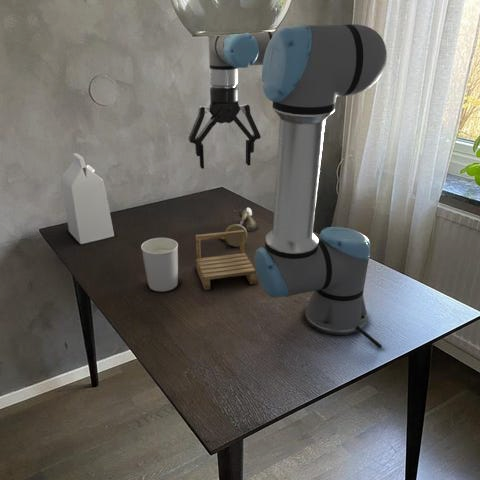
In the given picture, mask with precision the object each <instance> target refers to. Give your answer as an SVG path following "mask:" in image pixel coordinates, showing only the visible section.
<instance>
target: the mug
mask: <svg viewBox="0 0 480 480" xmlns="http://www.w3.org/2000/svg"><path fill="white" fill-rule="evenodd" d="M239 230H244V232H245V235H244V244H245V243H246V241H247V239H248V230H246V227H244V226H243V224H242V225H240V223H239V224H238V223H234V224H231V225H229V226H227V228H226V230H225V232H229V231H239ZM220 240H221V241H226V243H227V244H228V245H229V246H231V247H235V248H238V247H240V236H234V237H224V238H220Z"/></svg>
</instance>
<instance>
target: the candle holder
mask: <svg viewBox="0 0 480 480" xmlns="http://www.w3.org/2000/svg"><path fill="white" fill-rule="evenodd" d="M140 249H141V254H142V261H143V265H144V270H145V275H146V281H147V285H148V288H149V290H152V291H154V292H168V291H171V290H172V291H173V290H174V289H175V288H177V287H178V284H179V252H178V251H179V243H178V242H177V241H176V240H175V239H172V238H170V237H169V238H168V237H155V238H150V239H146V241H143V243H141V245H140Z"/></svg>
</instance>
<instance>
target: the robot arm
mask: <svg viewBox="0 0 480 480" xmlns="http://www.w3.org/2000/svg"><path fill="white" fill-rule="evenodd" d="M274 30H275V31H274V32H264V33H246V34H234V35H220V36H208V35H207V37H208V59H209V60H208V63H209V84H210V85H211V86H210V88H209V100H210V101H209V102H210V103H209V106H204V105H203V104H202V105H201V104H200V105H199V106H198V114H197V116H196V119H195V121H194V124H193V125H192V128H191V131H190V133H189V136H188V141H189V143H191V144H194V148H195V155H196V157H199V167H200V168H201V170H202V169H205V159H204V158H205V157H204V155H205V154H204V153H205V152H204V144H203V143H202V142H203V141H204V140H205V139H206V137H207V135H209V133H210V132H211V130H212V129H213V128H214V126H216V125H217V123H218V124H224V123H225V124H231V123H232V122H234V123H235V125H237V127H238V128H239V129H240V130H241V132H242V133H243V134H244V135H245V136H246V137H247V139H246V140H245V164H246V165H247V166H251V161H252V160H251V155H252V154H254V152H255V142H256V140H260V139H261V133H260V131H259V129H258V127H257V125H256V123H255V120H254V119H253V116H252V113H251V107H250V104H248V103H247V102H245V103H243V104H239V87H238V86H237V85H238V84H239V68H240V69H246V68H249V67H251V66H262V67H261V81H262V83H263V84H262V89H263V92H264V94H265V97H266V98H267V99H268V100H269V101H271V102H272V110H273V111H274V112H275V113H276V114H277V116H278V117H279V126H278V141H277V159H276V175H275V192H274V206H273V221H272V223H273V224H272V230H270V231H269V232H267V234H266V235H265V239H264V240H265V241H264V244H265V245H264V246H263V247H262V246H261V247H259V248H257V249H255V250H256V251H255V252H254V266H255V271H256V275H257V277H258V280H259V282H260V286H261V287H262V289H263V291H264V292H265V293H266V294H267V296H269V297H270V298H274V299H275V298H282V297H285V298H288V297H291V296H294V295H295V296H296V295H300V294H306V293H311V292H312V294H311V296H310V298H309V301H308V302H307V304H306V307H305V314H304V317H305V321H306V322H307V324H308V325H309V326H310V327H311V328H313V329H315V330H316V331H319V332H321V333H324V334H327V335H333V336H348V335H352V334H356V333H360V334H361V335H362V336H364V337H365V338H366V339H368V340H369V341H370V342H371V343H372V344H374V345H375V346H376V347H377V348H378V349H381V348H382V347H383V345H382V344H381V343H380V342H379V341H377V340H376V339H375V338H374V337H373V336H372V335H370V334H369V333H368V332H366V331H365V330H364V328H365V326H366V325H367V320H368V313H367V307H366V301H365V296H364V290H365V284H366V278H367V273H368V265H369V260H370V258H371V242H370V239H369V238H368V237H367V236H366V235H364V234H363V233H361V232H359V231H357V230H354V229H352V228H351V229H350V228H346V227H342V226H329V227H325V228H323V229H322V230H321V231H320V233H319V234H318V235H319V238H318V236H317V235H316V234H315V233H314V223H315V215H316V206H317V198H318V189H319V178H320V172H321V161H322V154H323V153H322V152H323V145H324V144H323V143H324V136H325V135H324V133H325V126H326V120H327V119H328V118H329V117H330V116H331V115H332V114H333V113H334V112H335V111H336V103H337V97H347V96H354V95H355V96H356V95H358V94H361V93H363V92H365V91H368V90H369V89H370V88H372V86H374V85H375V84H376V83H377V82H378V81H379V79H380V78H381V76H382V75H383V73H384V71H385V68H386V65H387V59H388V51H387V47H386V43H385V41H384V40H383V38H382V35H381V34H379V32H378V31H376V30H375V29H373V28H372V27H369V26H368V25H367V26H366V25H362V24H356V23H354V24H352V23H351V24H299V25H292V26H285V27H282V28H279V29H274ZM240 111H241V113H243V114H244V116H245V118H246V120H247V123H248V125H249V127H250V129H251V131H252V133H253V134H252V133H251V132H250V131H249V130H248V129H247V127H246V126H245V124H244V123H242V121H241V120H240V119H239V118H238V114H239V113H240ZM208 112H209V113H210V114H211V116H210V118H209V119H208V121H207V123H206V124H205V126H204V127H203V128H202V130H201V131H200V128H201V125H202V124H203V122H204V118H205V116H207V114H208ZM199 131H200V132H199ZM198 133H199V134H198Z"/></svg>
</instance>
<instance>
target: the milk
mask: <svg viewBox="0 0 480 480" xmlns="http://www.w3.org/2000/svg"><path fill="white" fill-rule="evenodd" d="M95 171H96V169H94V167H92V166H91V165H89V164H87V165H86V162H85V159H84V157H83V156H82V155H81V154H79V153H77V152H74V153H72V163H70V165H69V166H68V167H67V169H66V170H65V171H64V173H63V174H62V176H61V187H62V193H63V200H64V207H65V214H66V220H67V221H66V222H67V227H68V233H70V235H71V236H72V237H73V238H74V239H75V240H76V241H77V242H78V243H79V244H80V245H84V244H88V243H93V242H96V241H101V240H105V239H109V238H113V237H115V232H114V228H113V227H114V225H113V222H112V221H113V220H112V217H111V210H110V205H109V200H108V195H107V190H106V185H105V182H104V179H103V178H102V177H100V176H99V175H98V174H96V173H95Z"/></svg>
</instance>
